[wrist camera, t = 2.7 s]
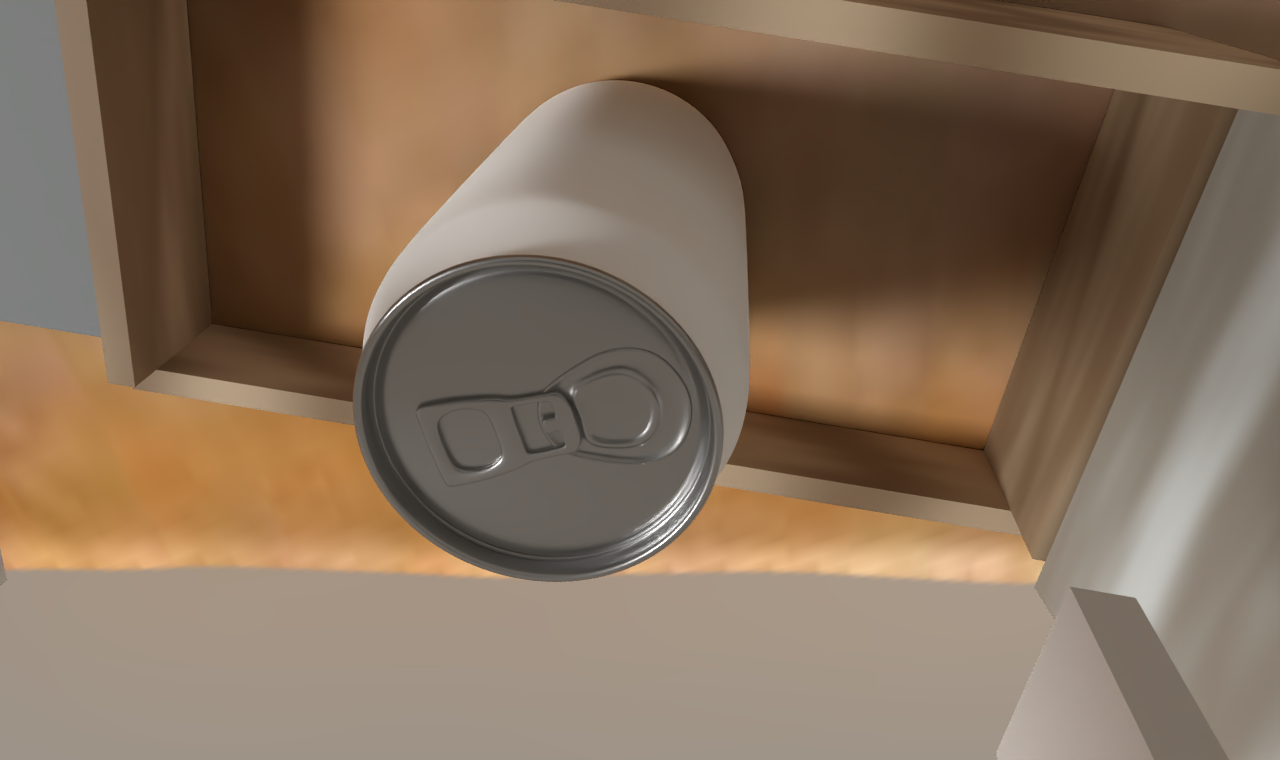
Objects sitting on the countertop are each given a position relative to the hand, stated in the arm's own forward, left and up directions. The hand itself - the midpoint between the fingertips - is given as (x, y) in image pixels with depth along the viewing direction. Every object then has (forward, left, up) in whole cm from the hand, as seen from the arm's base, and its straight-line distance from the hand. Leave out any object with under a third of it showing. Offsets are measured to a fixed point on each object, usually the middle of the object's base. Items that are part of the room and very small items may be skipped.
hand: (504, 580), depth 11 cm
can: (0, 0, -15) cm, 15 cm away
